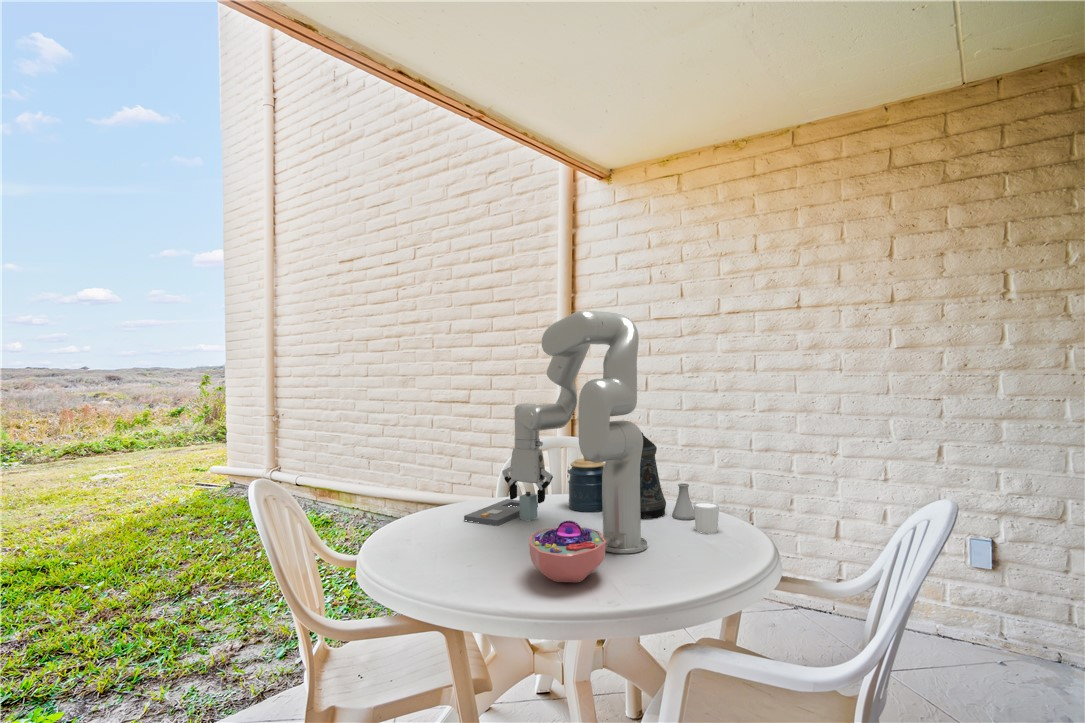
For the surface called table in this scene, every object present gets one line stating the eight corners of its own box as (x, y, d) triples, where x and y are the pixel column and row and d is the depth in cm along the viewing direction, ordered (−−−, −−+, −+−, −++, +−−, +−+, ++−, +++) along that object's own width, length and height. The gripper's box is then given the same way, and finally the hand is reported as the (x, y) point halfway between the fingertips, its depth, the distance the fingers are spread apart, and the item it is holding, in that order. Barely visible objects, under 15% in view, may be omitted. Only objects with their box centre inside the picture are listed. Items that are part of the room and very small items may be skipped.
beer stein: (673, 509, 175) (671, 431, 176) (652, 524, 159) (650, 437, 159) (624, 504, 184) (623, 429, 184) (599, 518, 167) (598, 435, 168)
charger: (530, 520, 165) (529, 494, 165) (519, 519, 167) (519, 493, 167) (537, 517, 169) (536, 491, 169) (527, 516, 171) (526, 490, 171)
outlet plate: (497, 525, 160) (497, 518, 160) (464, 521, 166) (464, 513, 166) (537, 507, 181) (537, 500, 181) (507, 503, 187) (506, 497, 187)
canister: (592, 514, 171) (591, 457, 171) (560, 508, 180) (559, 453, 180) (616, 506, 181) (615, 452, 181) (585, 501, 189) (584, 449, 190)
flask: (667, 515, 169) (667, 482, 169) (689, 513, 170) (688, 481, 171) (678, 521, 162) (677, 487, 162) (701, 519, 163) (700, 485, 164)
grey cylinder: (694, 533, 150) (693, 507, 150) (693, 526, 156) (692, 501, 156) (720, 534, 148) (720, 508, 148) (718, 527, 155) (718, 502, 155)
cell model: (515, 591, 112) (514, 535, 112) (543, 559, 131) (542, 511, 131) (597, 599, 107) (596, 541, 107) (614, 565, 126) (613, 515, 127)
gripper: (557, 444, 168) (557, 501, 168) (509, 440, 176) (509, 494, 176) (546, 448, 161) (546, 506, 161) (496, 444, 169) (496, 499, 169)
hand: (527, 500), depth 168 cm, fingers open, 9 cm apart
